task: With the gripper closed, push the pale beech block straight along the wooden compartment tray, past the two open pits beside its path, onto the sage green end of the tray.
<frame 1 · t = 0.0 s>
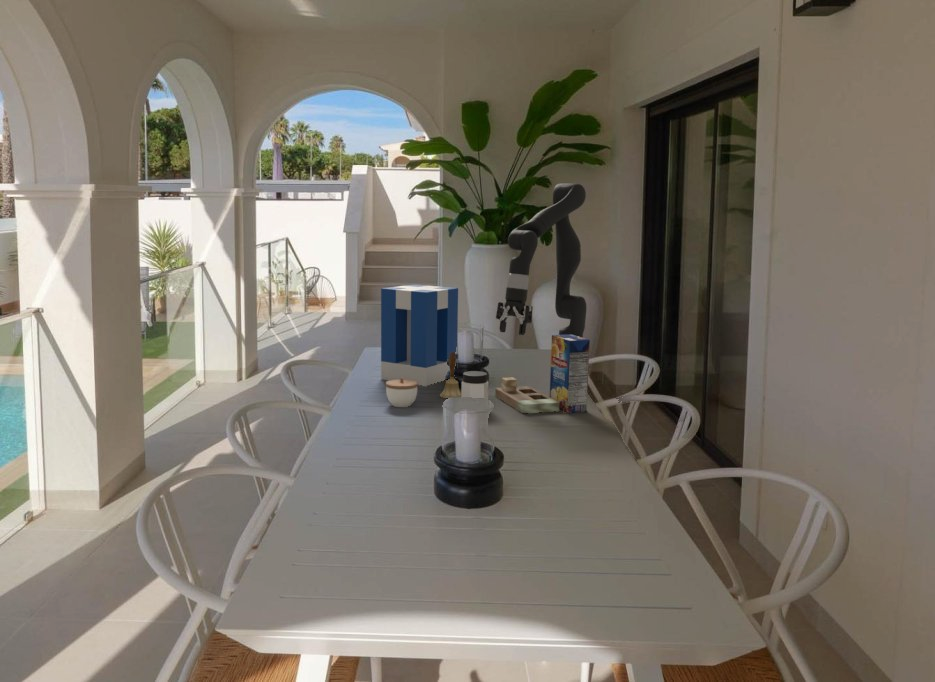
hand: (511, 333, 278), 22 cm above the table, tool pointing down, fingers open, 8 cm apart
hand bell: (451, 396, 280), on the table
beech block: (508, 389, 277), point 3 cm above the table, touching wooden compartment tray
jar: (474, 409, 262), on the table
lidded jar: (401, 405, 266), on the table
juice carton: (567, 408, 266), on the table
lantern: (419, 378, 308), on the table
wooden compartment tray: (526, 403, 271), on the table
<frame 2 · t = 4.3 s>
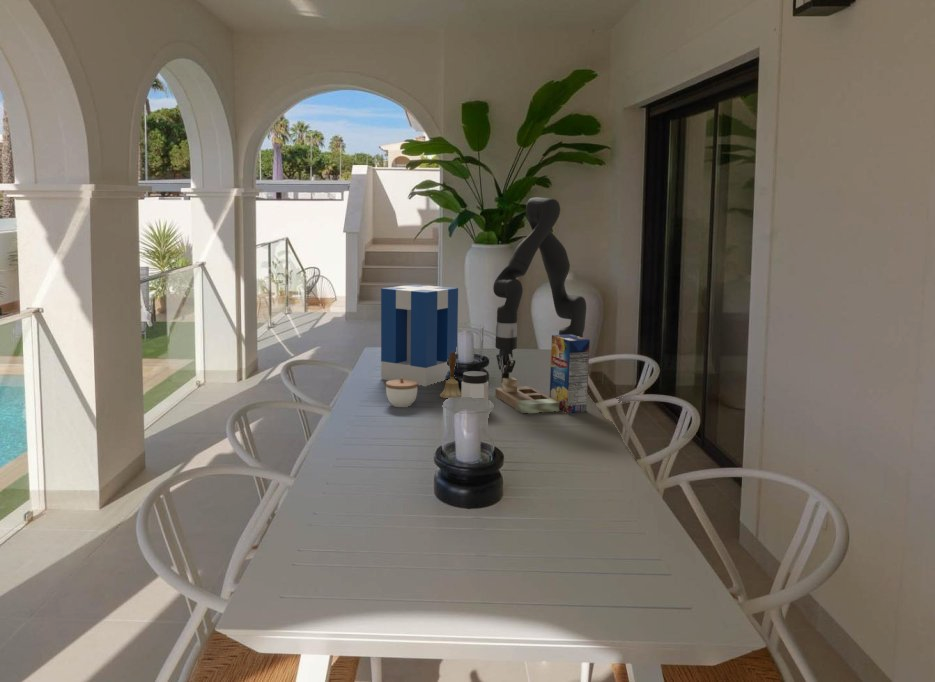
hand: (505, 383, 280), 5 cm above the table, tool pointing down, fingers closed
beech block: (509, 390, 277), point 3 cm above the table, touching gripper
everything else where it was.
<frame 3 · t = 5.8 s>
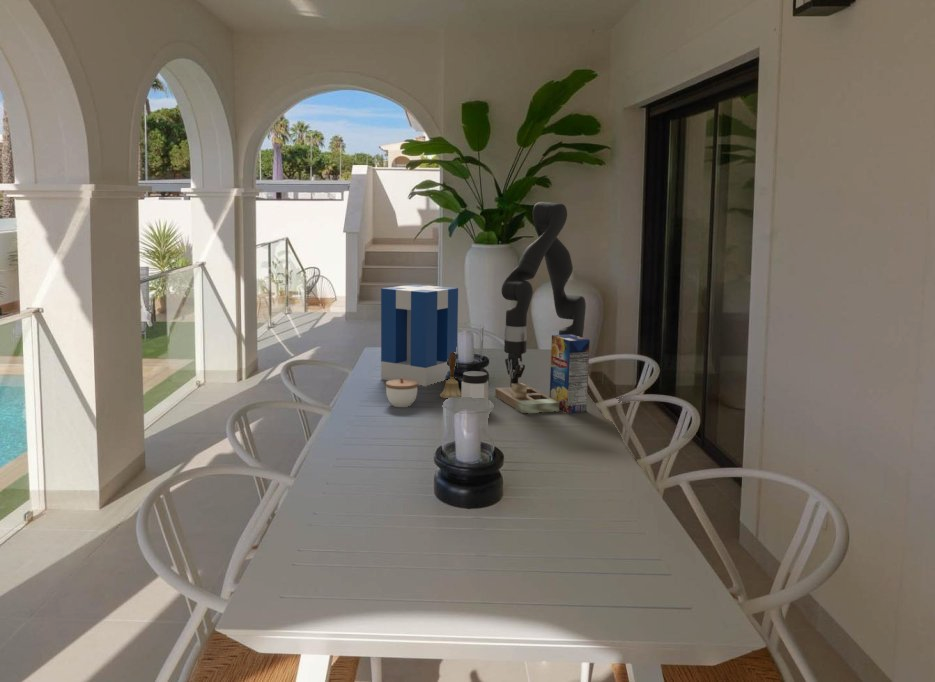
hand: (514, 388, 272), 5 cm above the table, tool pointing down, fingers closed
beech block: (518, 396, 269), point 3 cm above the table, touching gripper
everything else where it was.
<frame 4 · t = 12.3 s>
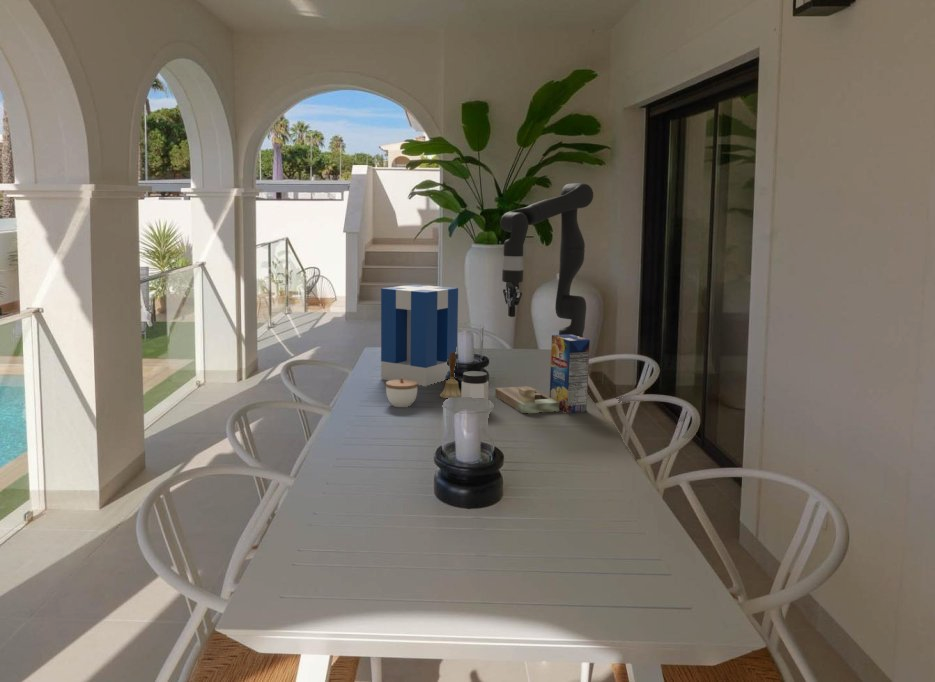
hand: (511, 316, 287), 27 cm above the table, tool pointing down, fingers closed
beech block: (526, 400, 262), point 3 cm above the table, touching wooden compartment tray
everything else where it was.
at the end: beech block 1.5 cm from the target spot on the wooden compartment tray, point 3.0 cm above the wooden compartment tray's base; beech block point 3.0 cm above the table; beech block tilted 0° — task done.
